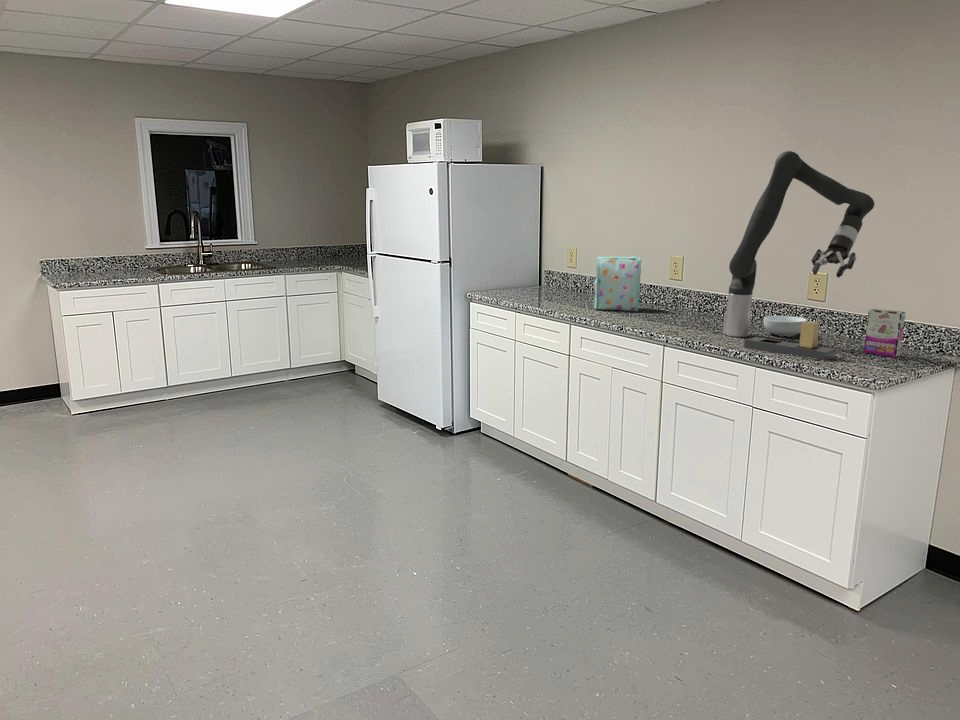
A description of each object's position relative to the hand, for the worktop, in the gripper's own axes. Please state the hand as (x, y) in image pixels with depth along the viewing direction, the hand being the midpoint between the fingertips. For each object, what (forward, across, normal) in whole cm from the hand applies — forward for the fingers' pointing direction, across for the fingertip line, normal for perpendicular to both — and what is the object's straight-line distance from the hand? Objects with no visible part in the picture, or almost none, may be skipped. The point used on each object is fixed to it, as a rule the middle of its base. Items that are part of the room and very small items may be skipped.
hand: (825, 274), depth 270 cm
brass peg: (+29, +3, +10) cm, 31 cm away
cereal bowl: (+7, -23, +36) cm, 43 cm away
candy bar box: (+13, +19, +28) cm, 36 cm away
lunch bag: (+8, -112, +40) cm, 119 cm away
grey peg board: (+30, -4, +10) cm, 31 cm away
